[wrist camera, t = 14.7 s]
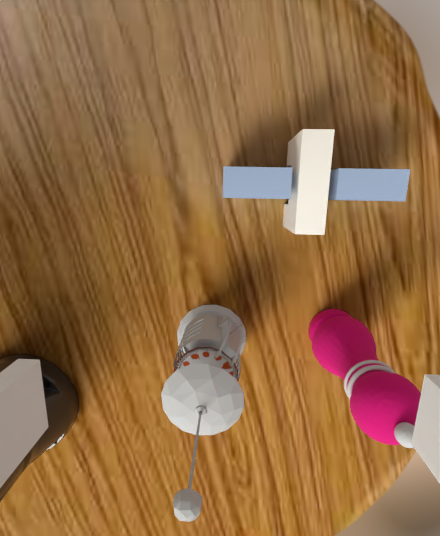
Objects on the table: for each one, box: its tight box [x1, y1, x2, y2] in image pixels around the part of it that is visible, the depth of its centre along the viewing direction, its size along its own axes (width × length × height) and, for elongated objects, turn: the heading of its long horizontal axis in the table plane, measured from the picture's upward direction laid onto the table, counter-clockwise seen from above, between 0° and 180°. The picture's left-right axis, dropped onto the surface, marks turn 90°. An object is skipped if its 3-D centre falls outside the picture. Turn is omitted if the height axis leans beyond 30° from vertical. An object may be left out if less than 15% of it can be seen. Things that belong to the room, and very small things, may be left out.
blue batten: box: [223, 166, 410, 201], centre depth 35 cm, size 18×3×8 cm, turn 89°
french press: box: [161, 305, 246, 522], centre depth 31 cm, size 10×12×25 cm
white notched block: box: [283, 129, 335, 235], centre depth 35 cm, size 10×3×8 cm, turn 179°
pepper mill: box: [309, 309, 421, 448], centre depth 33 cm, size 7×7×20 cm
